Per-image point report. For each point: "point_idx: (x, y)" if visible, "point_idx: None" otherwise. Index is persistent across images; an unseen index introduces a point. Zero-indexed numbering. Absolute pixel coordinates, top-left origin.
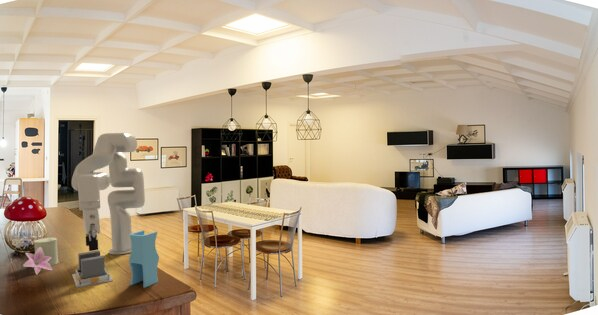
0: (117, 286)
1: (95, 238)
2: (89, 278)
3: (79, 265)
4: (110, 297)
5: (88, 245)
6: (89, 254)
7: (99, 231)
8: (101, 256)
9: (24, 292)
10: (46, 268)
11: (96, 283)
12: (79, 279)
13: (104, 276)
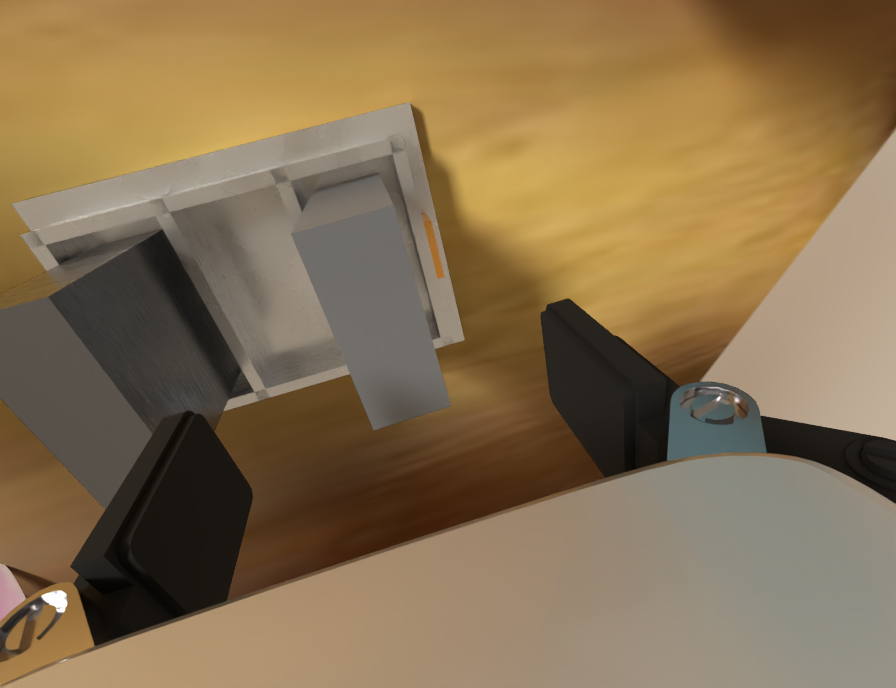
0: (567, 54)
1: (797, 431)
2: (437, 285)
3: (216, 416)
4: (753, 99)
5: (243, 477)
6: (135, 399)
7: (878, 495)
8: (335, 242)
9: (413, 537)
10: (16, 596)
11: (437, 227)
12: (435, 346)
13: (410, 176)
